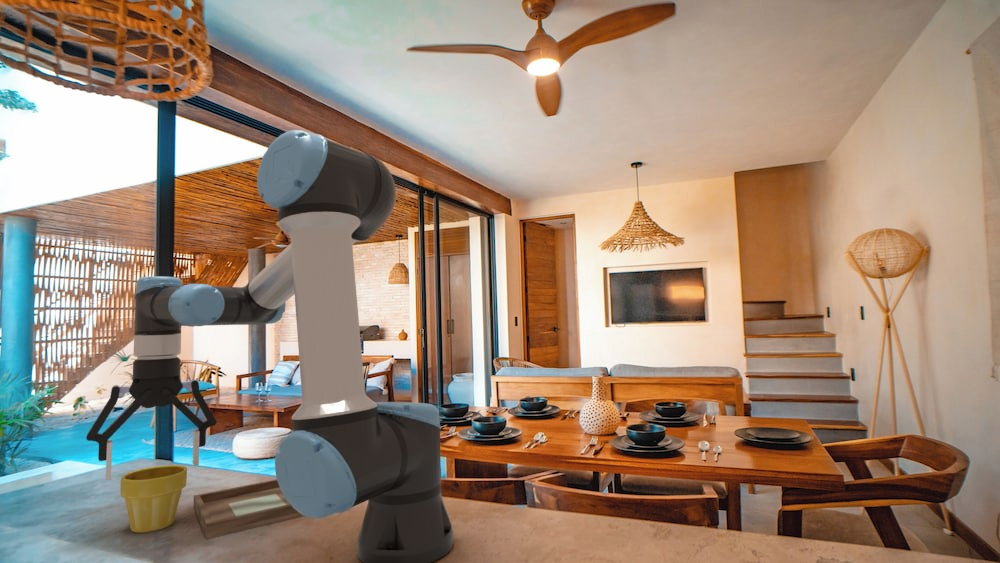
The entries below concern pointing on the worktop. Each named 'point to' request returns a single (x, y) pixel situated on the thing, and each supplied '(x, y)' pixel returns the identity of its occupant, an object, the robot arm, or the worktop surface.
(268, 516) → the walnut tray
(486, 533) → the worktop surface
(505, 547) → the worktop surface
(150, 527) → the plant pot
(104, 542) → the worktop surface
